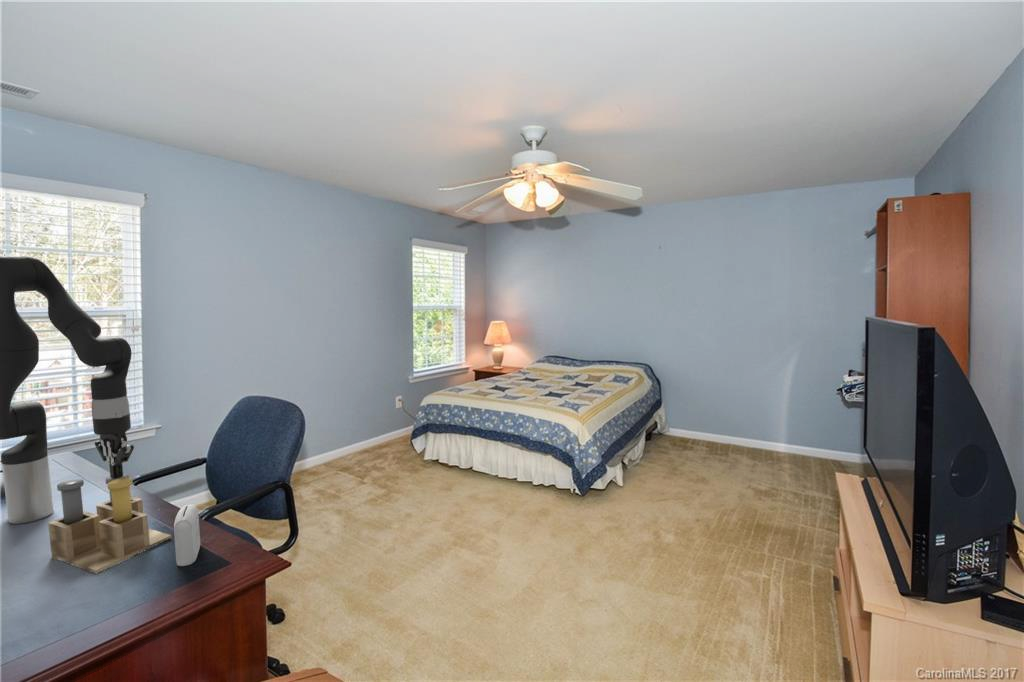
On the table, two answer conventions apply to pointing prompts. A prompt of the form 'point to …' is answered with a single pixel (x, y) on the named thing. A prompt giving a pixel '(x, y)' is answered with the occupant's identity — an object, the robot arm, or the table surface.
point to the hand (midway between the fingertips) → (117, 477)
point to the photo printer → (187, 535)
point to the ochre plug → (121, 499)
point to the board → (103, 537)
